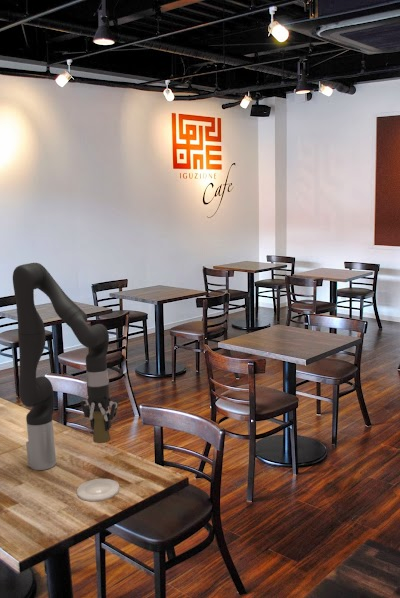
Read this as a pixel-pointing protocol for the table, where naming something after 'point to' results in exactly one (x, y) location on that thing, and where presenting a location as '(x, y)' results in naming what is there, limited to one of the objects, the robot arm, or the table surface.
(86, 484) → the cream plate
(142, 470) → the table surface
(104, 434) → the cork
